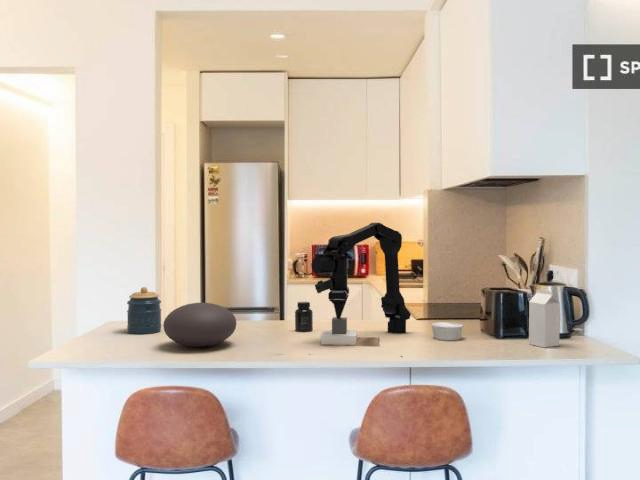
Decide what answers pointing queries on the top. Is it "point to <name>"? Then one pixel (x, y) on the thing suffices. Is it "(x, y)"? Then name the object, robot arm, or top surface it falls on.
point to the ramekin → (447, 331)
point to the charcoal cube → (339, 325)
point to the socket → (339, 338)
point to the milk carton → (544, 319)
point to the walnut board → (361, 342)
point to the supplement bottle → (303, 317)
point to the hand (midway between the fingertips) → (339, 316)
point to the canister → (144, 312)
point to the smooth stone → (199, 324)
